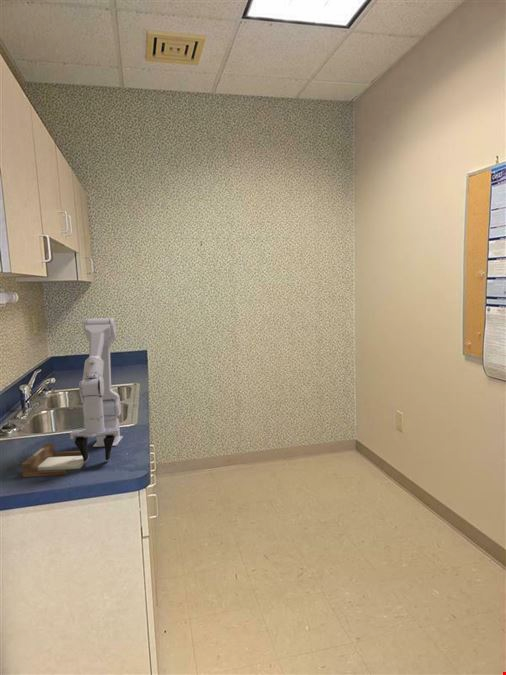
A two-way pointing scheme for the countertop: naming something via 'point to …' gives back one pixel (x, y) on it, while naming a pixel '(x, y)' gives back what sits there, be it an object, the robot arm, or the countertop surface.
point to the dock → (40, 456)
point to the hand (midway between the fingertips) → (97, 459)
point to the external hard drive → (62, 463)
